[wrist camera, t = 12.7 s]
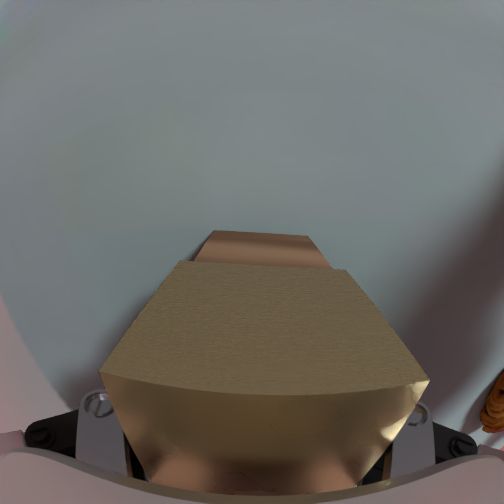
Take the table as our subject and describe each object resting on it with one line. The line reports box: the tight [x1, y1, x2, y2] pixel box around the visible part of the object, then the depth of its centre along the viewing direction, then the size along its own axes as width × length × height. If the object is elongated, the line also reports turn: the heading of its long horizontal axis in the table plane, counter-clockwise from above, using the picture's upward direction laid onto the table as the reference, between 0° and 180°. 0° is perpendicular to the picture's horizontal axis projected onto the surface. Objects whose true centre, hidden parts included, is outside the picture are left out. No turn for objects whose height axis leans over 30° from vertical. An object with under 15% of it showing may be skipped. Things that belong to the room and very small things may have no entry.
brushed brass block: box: [99, 260, 430, 496], centre depth 8 cm, size 7×6×6 cm
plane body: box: [194, 230, 332, 269], centre depth 11 cm, size 17×5×11 cm, turn 177°
